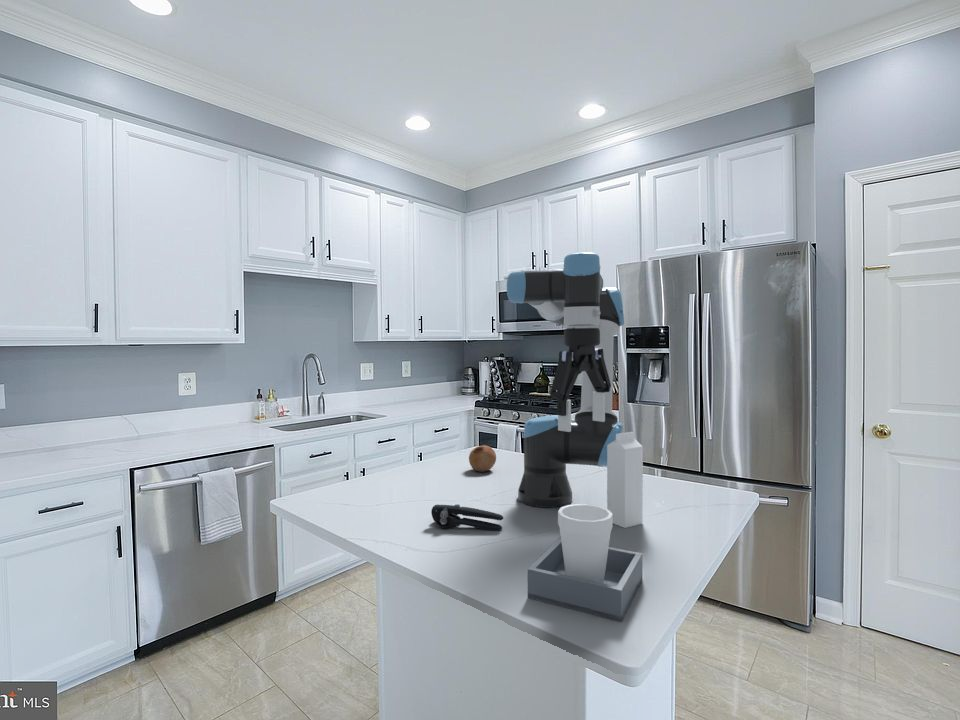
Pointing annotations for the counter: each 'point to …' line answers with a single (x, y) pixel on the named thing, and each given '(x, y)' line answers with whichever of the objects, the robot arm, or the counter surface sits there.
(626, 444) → the pale carton
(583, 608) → the bin
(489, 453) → the onion
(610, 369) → the robot arm
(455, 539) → the counter surface
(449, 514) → the can opener
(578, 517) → the foam cup
